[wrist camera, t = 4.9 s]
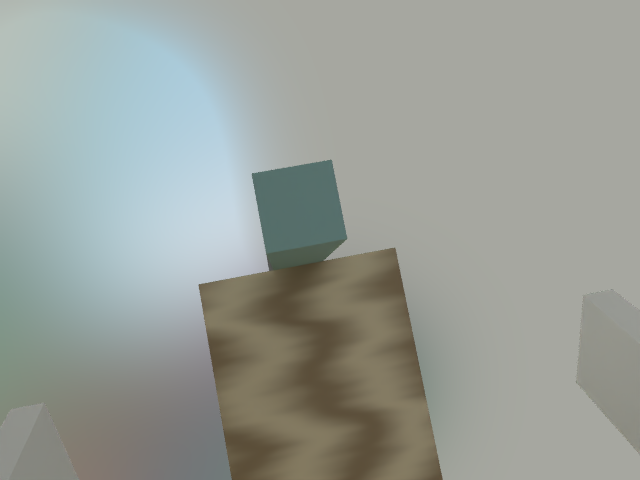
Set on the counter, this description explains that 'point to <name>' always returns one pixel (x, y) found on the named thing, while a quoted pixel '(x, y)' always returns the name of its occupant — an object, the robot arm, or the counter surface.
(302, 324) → the birch stand
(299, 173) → the teal bar
